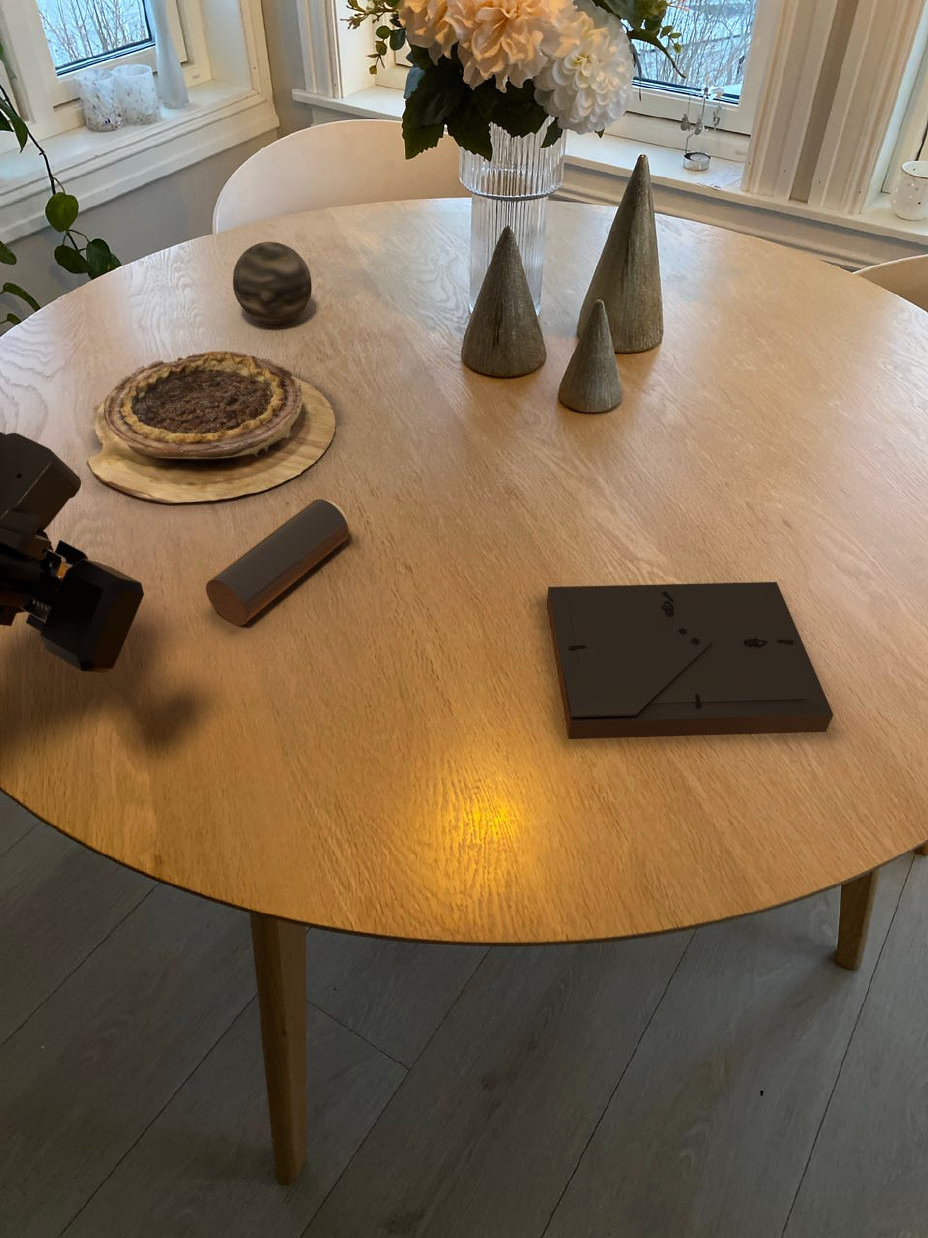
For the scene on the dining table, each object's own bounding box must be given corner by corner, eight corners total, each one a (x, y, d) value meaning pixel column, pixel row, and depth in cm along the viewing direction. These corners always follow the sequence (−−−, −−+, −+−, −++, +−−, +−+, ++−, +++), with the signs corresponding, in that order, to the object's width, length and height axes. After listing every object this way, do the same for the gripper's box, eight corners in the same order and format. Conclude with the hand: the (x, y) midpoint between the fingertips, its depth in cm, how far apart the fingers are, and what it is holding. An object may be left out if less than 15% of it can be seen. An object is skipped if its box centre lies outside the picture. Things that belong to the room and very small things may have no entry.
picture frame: (568, 739, 76) (826, 731, 77) (571, 715, 74) (836, 708, 75) (546, 603, 87) (771, 598, 88) (548, 580, 85) (778, 575, 86)
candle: (223, 575, 81) (333, 490, 90) (197, 585, 84) (305, 502, 93) (256, 620, 82) (361, 532, 91) (229, 629, 86) (332, 543, 94)
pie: (244, 347, 121) (238, 309, 117) (386, 434, 107) (385, 394, 104) (35, 430, 107) (21, 390, 103) (168, 543, 93) (157, 501, 89)
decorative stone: (310, 338, 123) (302, 262, 116) (232, 337, 123) (219, 261, 116) (319, 303, 130) (312, 229, 123) (245, 302, 130) (234, 228, 123)
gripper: (78, 479, 52) (248, 535, 66) (-127, 379, 59) (66, 449, 73) (1, 668, 52) (185, 682, 67) (-193, 545, 60) (11, 582, 74)
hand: (110, 591), depth 70 cm, fingers closed
